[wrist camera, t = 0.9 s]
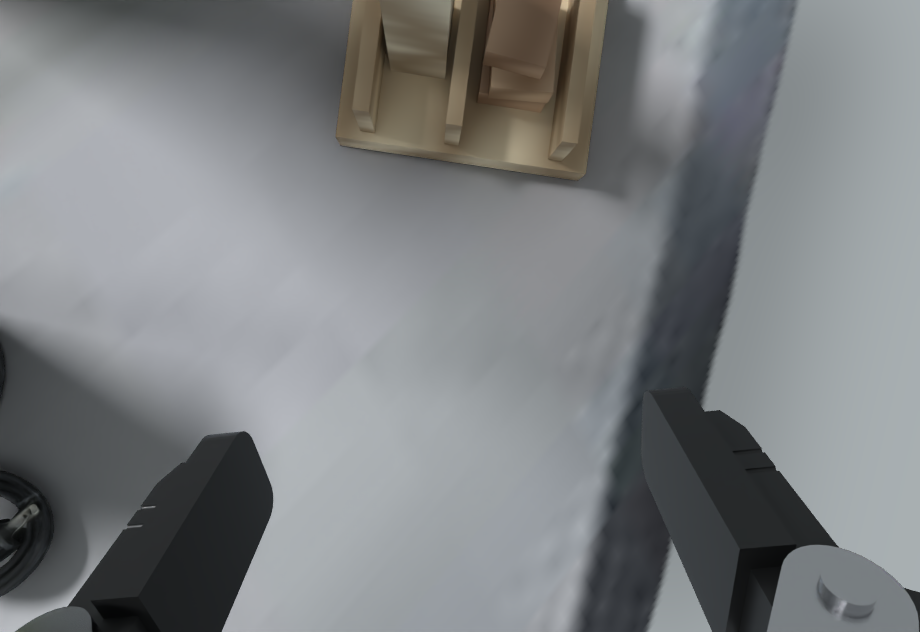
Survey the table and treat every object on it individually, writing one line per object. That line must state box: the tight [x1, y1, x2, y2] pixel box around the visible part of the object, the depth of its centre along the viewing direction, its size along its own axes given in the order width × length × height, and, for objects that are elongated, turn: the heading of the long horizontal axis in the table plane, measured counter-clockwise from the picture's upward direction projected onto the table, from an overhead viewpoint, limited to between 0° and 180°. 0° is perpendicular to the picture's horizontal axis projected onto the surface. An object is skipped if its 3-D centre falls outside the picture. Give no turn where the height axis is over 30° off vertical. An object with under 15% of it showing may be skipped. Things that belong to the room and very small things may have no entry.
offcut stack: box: [477, 0, 562, 113], centre depth 26 cm, size 4×6×4 cm, turn 172°
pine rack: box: [336, 0, 608, 181], centre depth 27 cm, size 14×12×4 cm
